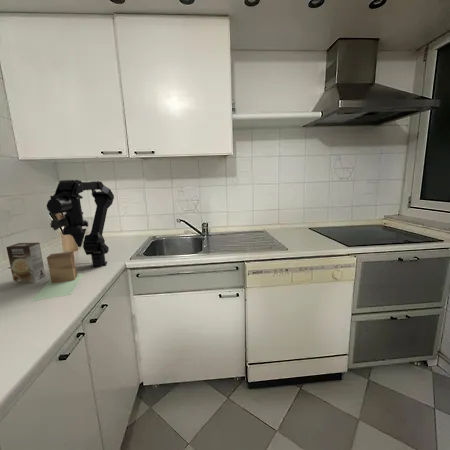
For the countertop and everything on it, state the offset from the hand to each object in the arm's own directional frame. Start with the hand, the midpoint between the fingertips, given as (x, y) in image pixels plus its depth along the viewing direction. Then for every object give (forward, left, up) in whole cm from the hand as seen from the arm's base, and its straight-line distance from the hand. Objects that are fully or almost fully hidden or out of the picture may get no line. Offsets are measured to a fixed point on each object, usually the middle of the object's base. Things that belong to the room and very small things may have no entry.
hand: (79, 246), depth 101 cm
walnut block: (+3, -7, -13) cm, 14 cm away
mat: (+9, -6, -13) cm, 17 cm away
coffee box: (-3, -20, -13) cm, 25 cm away
